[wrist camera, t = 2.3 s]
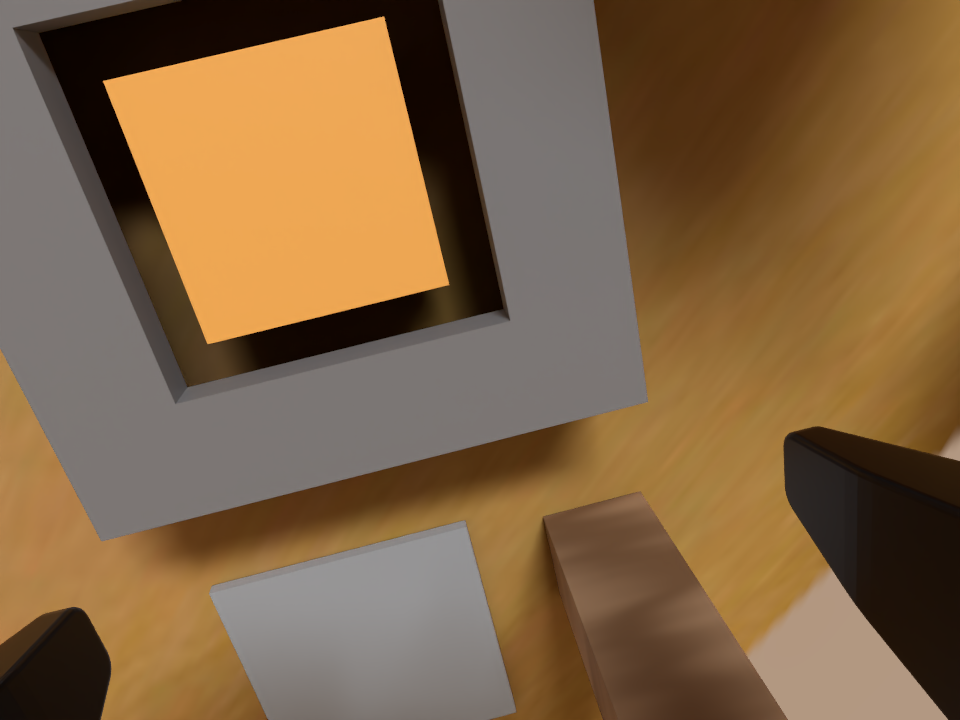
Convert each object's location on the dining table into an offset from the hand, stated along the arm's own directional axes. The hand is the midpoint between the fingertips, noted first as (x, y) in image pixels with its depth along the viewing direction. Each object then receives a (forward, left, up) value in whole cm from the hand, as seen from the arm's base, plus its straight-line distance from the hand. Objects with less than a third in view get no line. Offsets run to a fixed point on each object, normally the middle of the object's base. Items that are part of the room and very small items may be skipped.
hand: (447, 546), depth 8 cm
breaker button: (+2, -4, -11) cm, 12 cm away
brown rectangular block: (-4, +11, -13) cm, 17 cm away
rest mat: (+5, +13, -13) cm, 19 cm away
